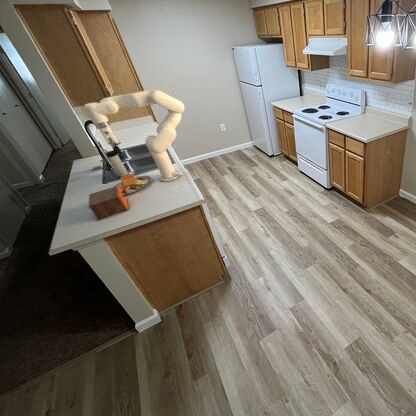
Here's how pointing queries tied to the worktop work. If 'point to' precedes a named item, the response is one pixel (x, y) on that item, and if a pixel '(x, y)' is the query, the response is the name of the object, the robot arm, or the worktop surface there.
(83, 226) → the worktop surface
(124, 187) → the food plate
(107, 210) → the cabinet
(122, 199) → the drawer
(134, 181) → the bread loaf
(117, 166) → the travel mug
